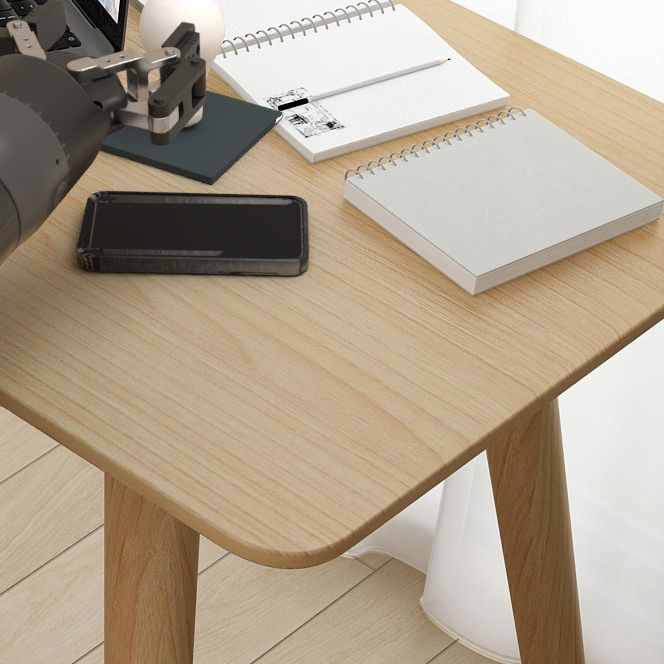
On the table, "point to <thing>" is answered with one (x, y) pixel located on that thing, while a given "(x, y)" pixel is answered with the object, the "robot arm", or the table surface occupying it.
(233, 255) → the phone
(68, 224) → the table surface
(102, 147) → the mat
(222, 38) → the lightbulb
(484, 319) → the table surface
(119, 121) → the robot arm
